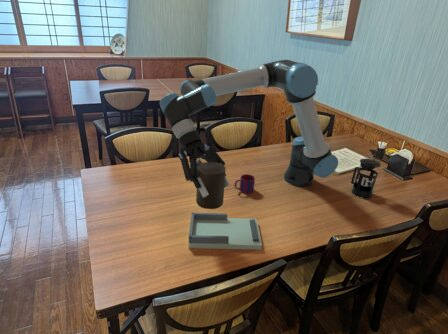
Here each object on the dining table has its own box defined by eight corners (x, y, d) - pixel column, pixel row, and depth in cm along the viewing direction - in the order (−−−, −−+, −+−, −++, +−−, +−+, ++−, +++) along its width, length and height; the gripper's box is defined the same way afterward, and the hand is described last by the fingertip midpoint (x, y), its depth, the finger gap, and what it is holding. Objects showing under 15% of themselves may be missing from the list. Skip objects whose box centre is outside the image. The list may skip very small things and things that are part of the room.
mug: (255, 192, 146) (257, 179, 143) (236, 195, 143) (237, 182, 140) (250, 185, 152) (251, 173, 149) (231, 188, 149) (232, 175, 146)
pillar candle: (213, 212, 104) (216, 173, 97) (190, 203, 108) (191, 164, 102) (228, 200, 111) (231, 163, 105) (206, 192, 116) (208, 155, 109)
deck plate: (256, 222, 124) (257, 213, 122) (261, 249, 110) (262, 239, 108) (191, 221, 123) (191, 211, 121) (188, 248, 108) (188, 237, 107)
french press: (377, 196, 149) (390, 152, 139) (365, 201, 144) (378, 156, 134) (356, 185, 158) (367, 144, 148) (344, 189, 153) (355, 147, 143)
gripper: (204, 133, 118) (232, 184, 115) (156, 147, 103) (186, 206, 100) (215, 123, 113) (244, 177, 110) (165, 136, 98) (198, 198, 95)
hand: (216, 190), depth 105 cm, fingers closed on pillar candle, 10 cm apart
